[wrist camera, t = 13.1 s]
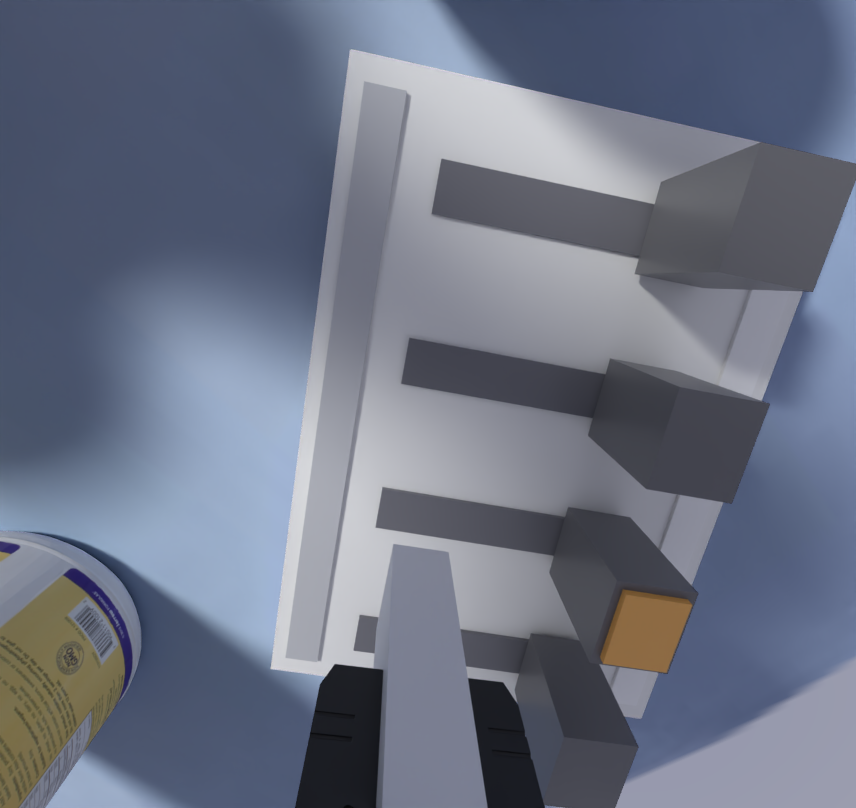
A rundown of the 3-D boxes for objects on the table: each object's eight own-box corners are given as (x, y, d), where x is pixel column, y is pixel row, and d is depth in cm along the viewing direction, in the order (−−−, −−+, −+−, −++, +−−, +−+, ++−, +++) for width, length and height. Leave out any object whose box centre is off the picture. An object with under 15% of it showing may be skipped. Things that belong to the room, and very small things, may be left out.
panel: (281, 640, 26) (269, 672, 24) (356, 71, 19) (349, 45, 17) (625, 688, 28) (643, 722, 25) (811, 173, 21) (856, 161, 19)
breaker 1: (634, 274, 19) (717, 272, 14) (660, 182, 18) (761, 142, 13) (704, 288, 19) (813, 291, 14) (733, 197, 18) (861, 165, 13)
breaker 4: (514, 689, 24) (541, 804, 19) (530, 633, 23) (564, 737, 18) (570, 697, 25) (612, 812, 19) (588, 641, 24) (638, 746, 18)
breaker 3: (549, 572, 23) (592, 669, 17) (568, 506, 22) (620, 586, 16) (608, 582, 23) (671, 680, 17) (630, 517, 22) (703, 599, 16)
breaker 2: (587, 435, 21) (646, 489, 16) (610, 358, 20) (679, 386, 15) (652, 447, 21) (731, 503, 16) (677, 371, 20) (769, 403, 15)
